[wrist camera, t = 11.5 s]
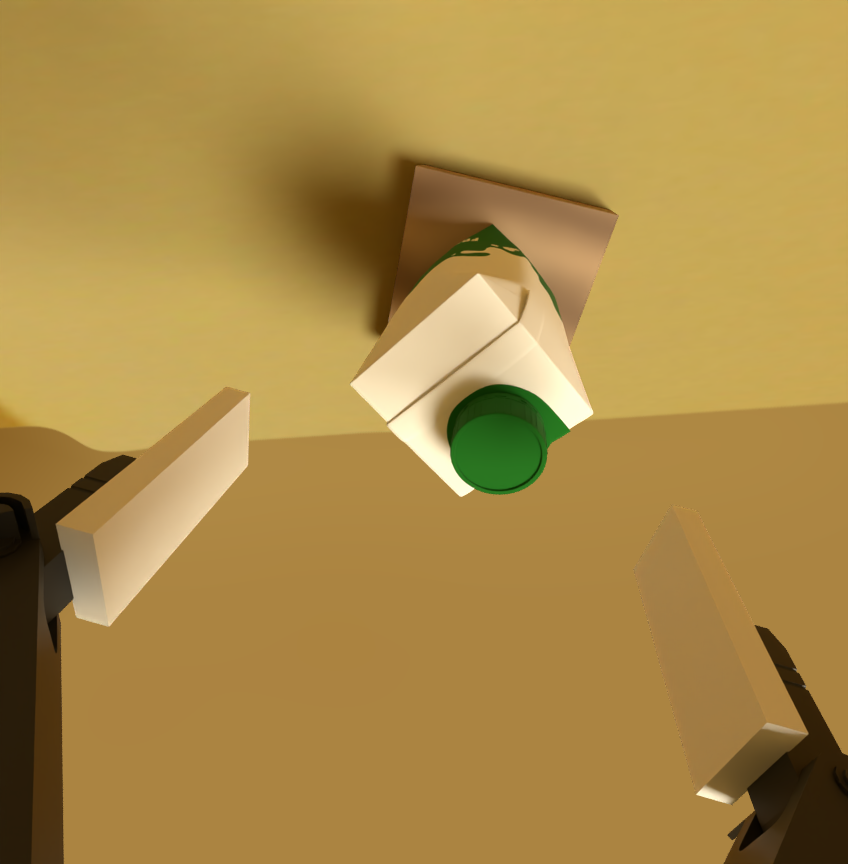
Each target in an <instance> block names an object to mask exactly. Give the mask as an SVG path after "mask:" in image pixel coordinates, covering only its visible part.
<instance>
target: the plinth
mask: <svg viewBox="0 0 848 864" xmlns="http://www.w3.org/2000/svg"><path fill="white" fill-rule="evenodd" d="M618 216H619V215H617V214H616V213H614V212H612V211H611V210H607V209H603V208H599V207H595V206H591V205H587V204H583V203H579V202H575V201H571V200H566V199H562V198H558V197H554V196H550V195H546V194H542V193H538V192H534V191H530V190H526V189H522V188H517V187H513V186H509V185H505V184H501V183H497V182H493V181H489V180H485V179H481V178H477V177H473V176H468V175H464V174H460V173H456V172H452V171H448V170H444V169H440V168H436V167H432V166H428V165H417V166H416V167H415V173H414V179H413V184H412V190H411V196H410V201H409V207H408V213H407V218H406V224H405V230H404V235H403V241H402V247H401V252H400V258H399V264H398V269H397V275H396V281H395V286H394V292H393V298H392V303H391V309H390V315H389V320H388V323H389V322H390V320H391V319H392V317H393V315H394V314H395V312H396V311H397V310H398V308H399V307H400V305H401V304H402V302H403V301H404V300H405V298H406V297H407V295H408V294H409V293H410V291H411V290H412V288H413V287H414V285H415V284H416V283H417V281H418V280H419V279H420V277H421V276H422V275H423V274H424V273H425V272H426V271H427V270H428V269H429V268H430V267H431V266H432V265H433V264H434V263H435V262H436V261H437V260H439V259H440V258H441V257H442V256H443V255H444V254H446V253H447V252H448V251H449V250H450V249H451V248H453V247H454V246H455V245H457V244H458V243H460V242H462V241H463V240H465V239H467V238H469V237H470V236H472V235H474V234H476V233H478V232H479V231H481V230H483V229H485V228H487V227H488V226H490V225H492V224H493V225H494V226H495V227H496V228H497V229H498V230H499V231H500V232H501V233H502V234H503V235H505V236H506V237H507V238H508V239H509V240H510V241H511V242H512V243H513V244H514V245H515V246H517V247H518V248H519V249H520V250H521V251H522V253H523V254H524V255H525V256H526V257H527V258H528V259H529V261H530V262H531V263H532V264H533V266H534V267H535V268H536V270H537V271H538V273H539V274H540V275H541V277H542V278H543V279H544V281H545V282H546V284H547V285H548V287H549V288H550V289H551V291H552V293H553V294H554V296H555V299H556V302H557V305H558V308H559V312H560V315H561V319H562V322H563V326H564V329H565V333H566V336H567V340H568V344H569V346H570V344H571V341H572V338H573V336H574V333H575V330H576V328H577V325H578V322H579V320H580V317H581V314H582V312H583V309H584V306H585V304H586V301H587V298H588V296H589V293H590V290H591V288H592V285H593V282H594V280H595V277H596V274H597V272H598V269H599V267H600V264H601V261H602V259H603V256H604V253H605V251H606V248H607V245H608V243H609V240H610V237H611V235H612V232H613V229H614V227H615V224H616V221H617V219H618Z"/></svg>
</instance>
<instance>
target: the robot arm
mask: <svg viewBox="0 0 848 864" xmlns="http://www.w3.org/2000/svg"><path fill="white" fill-rule="evenodd" d="M249 413H250V393H248V392H244V391H241V390H237V389H233V388H229V387H225V388H224V389H223V390H222V391H220V392H219V393H218V394H217V395H216V396H214V397H213V398H212V399H211V400H209V401H208V402H207V403H206V404H204V405H203V406H202V407H201V408H199V409H198V410H197V411H196V412H194V413H193V414H192V415H191V416H189V417H188V418H187V419H186V420H184V421H183V422H182V423H181V424H179V425H178V426H177V427H176V428H174V429H173V430H172V431H171V432H169V433H168V434H167V435H166V436H165V437H163V438H162V439H161V440H160V441H158V442H157V443H156V444H155V445H153V446H152V447H151V448H150V449H148V450H147V451H146V452H145V453H143V454H142V455H141V456H140V457H138V458H133V457H129V456H125V455H121V456H119V457H116V458H113V459H111V460H108V461H106V462H103V463H101V464H100V465H98V466H97V467H96V468H94V469H93V470H92V471H90V472H89V473H87V474H86V475H85V477H84V478H81V479H79V480H78V481H77V482H75V483H74V484H73V485H72V486H71V488H67V489H66V490H65V491H63V492H62V493H61V494H59V495H58V496H57V497H55V498H54V499H53V500H51V501H50V502H49V503H47V504H46V505H45V506H43V507H42V508H41V509H39V510H38V511H37V512H35V513H33V509H32V506H31V503H30V501H29V500H28V499H27V498H25V497H23V496H22V495H18V494H12V493H0V864H64V857H63V856H64V854H63V780H62V779H63V778H62V776H63V775H62V697H61V622H60V618H59V613H60V612H61V611H62V610H63V609H64V608H65V607H66V606H67V605H68V603H69V602H71V600H73V605H74V609H75V614H76V617H77V618H80V619H84V620H88V621H91V622H94V623H98V624H101V625H105V626H110V625H111V623H112V622H113V621H114V620H115V619H116V618H117V617H118V615H119V614H120V613H121V612H122V611H123V610H124V608H125V607H126V606H127V605H128V604H129V603H130V602H131V600H132V599H133V598H134V597H135V596H136V595H137V593H138V592H139V591H140V590H141V589H142V588H143V587H144V585H145V584H146V583H147V582H148V581H149V579H150V578H151V577H152V576H153V575H154V574H155V573H156V571H157V570H158V569H159V568H160V567H161V566H162V564H163V563H164V562H165V561H166V560H167V559H168V557H169V556H170V555H171V554H172V553H173V552H174V550H175V549H176V548H177V547H178V546H179V545H180V544H181V542H182V541H183V540H184V539H185V538H186V537H187V536H188V534H189V533H190V532H191V531H192V530H193V529H194V527H195V526H196V525H197V524H198V523H199V522H200V520H201V519H202V518H203V517H204V516H205V515H206V513H207V512H208V511H209V510H210V509H211V508H212V507H213V505H214V504H215V503H216V502H217V501H218V500H219V498H220V497H221V496H222V495H223V494H224V493H225V491H226V490H227V489H228V488H229V487H230V486H231V484H232V483H233V482H234V481H235V480H236V478H237V477H238V476H239V475H240V474H241V473H242V472H243V471H244V469H245V468H246V467H247V466H248V444H249ZM634 573H635V577H636V580H637V584H638V588H639V591H640V595H641V598H642V602H643V606H644V609H645V613H646V616H647V620H648V624H649V627H650V630H651V634H652V638H653V641H654V645H655V648H656V652H657V656H658V659H659V663H660V667H661V670H662V674H663V677H664V681H665V685H666V688H667V692H668V695H669V699H670V703H671V706H672V710H673V713H674V717H675V721H676V724H677V728H678V731H679V735H680V739H681V742H682V746H683V749H684V753H685V756H686V760H687V764H688V767H689V771H690V775H691V778H692V782H693V785H694V789H695V792H696V795H700V796H703V797H707V798H710V799H714V800H717V801H721V802H724V803H728V804H731V805H732V804H733V803H734V802H736V801H737V800H738V799H739V798H740V797H741V796H742V795H743V794H744V793H745V792H746V791H747V790H748V793H749V795H750V798H751V801H752V804H753V806H754V809H755V811H754V812H753V813H752V814H750V815H749V816H748V817H747V818H746V819H745V820H744V821H743V822H741V823H740V824H739V825H738V826H737V827H736V828H734V829H733V830H732V831H731V832H730V833H729V834H728V836H729V837H730V838H731V839H732V840H733V839H735V838H736V837H737V838H736V840H735V842H734V844H733V846H732V848H731V850H730V852H729V854H728V856H727V858H726V860H725V862H724V864H848V755H845V754H843V753H842V752H841V750H840V748H839V746H838V744H837V743H836V741H835V739H834V737H833V735H832V733H831V732H830V730H829V728H828V726H827V724H826V722H825V720H824V719H823V717H822V715H821V713H820V711H819V709H818V707H817V706H816V704H815V702H814V700H813V698H812V697H811V694H810V693H809V691H808V690H806V689H805V687H806V685H805V683H804V681H803V680H802V678H801V676H800V674H799V673H797V672H796V670H797V669H796V667H795V665H794V663H793V661H792V659H791V658H790V656H789V654H788V652H787V650H786V648H785V647H784V646H783V645H782V644H781V643H780V642H779V641H778V640H777V639H776V637H775V636H774V635H773V634H772V633H771V632H770V631H769V629H767V628H763V627H760V626H756V625H754V624H753V622H752V620H751V618H750V616H749V614H748V612H747V610H746V608H745V606H744V604H743V602H742V600H741V598H740V596H739V594H738V592H737V590H736V588H735V586H734V584H733V582H732V580H731V578H730V576H729V574H728V572H727V570H726V568H725V566H724V564H723V562H722V560H721V558H720V556H719V554H718V552H717V550H716V548H715V546H714V544H713V542H712V540H711V538H710V536H709V534H708V532H707V530H706V528H705V526H704V524H703V522H702V520H701V518H700V516H699V514H698V512H697V511H695V510H691V509H688V508H684V507H680V506H676V505H671V507H670V508H669V510H668V511H667V513H666V515H665V517H664V518H663V520H662V522H661V524H660V525H659V527H658V529H657V530H656V532H655V534H654V536H653V537H652V539H651V541H650V542H649V544H648V546H647V547H646V549H645V551H644V553H643V554H642V556H641V558H640V559H639V561H638V563H637V565H636V566H635V568H634Z"/></svg>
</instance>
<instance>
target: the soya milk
mask: <svg viewBox="0 0 848 864" xmlns="http://www.w3.org/2000/svg"><path fill="white" fill-rule="evenodd" d="M350 385H351V386H352V387H353V388H354V389H355V390H356V391H357V392H358V393H359V394H360V395H361V396H362V397H363V398H364V399H365V400H366V401H367V402H368V403H369V404H370V405H371V406H372V407H373V408H374V409H375V410H376V411H377V412H378V413H379V414H380V415H381V416H382V417H383V418H384V419H385V420H386V421H387V426H388V428H389V429H390V430H391V431H392V432H393V433H394V434H395V435H396V436H397V437H398V438H399V439H400V440H402V441H403V442H405V443H406V444H407V445H408V446H409V447H410V448H411V449H412V450H413V451H414V452H415V453H416V454H417V455H418V456H419V457H420V458H421V459H422V460H423V461H424V462H425V463H426V464H427V465H428V466H429V467H430V468H431V469H432V470H433V471H434V472H435V473H436V474H437V475H438V476H439V477H440V478H442V480H443V481H444V482H445V483H447V484H448V485H449V486H450V487H451V488H452V489H453V490H454V491H455V492H456V493H457V494H458V495H459V496H460V497H461V496H464V495H466V494H467V493H469V492H470V491H472V490H473V489H476V490H479V491H481V492H485V493H489V494H499V495H500V494H510V493H515V492H517V491H520V490H522V489H525V488H526V487H528V486H529V485H531V484H532V483H534V482H535V481H536V479H538V477H539V476H540V475H541V473H542V472H543V470H544V467H545V464H546V460H547V448H548V447H549V446H550V444H551V443H552V442H554V441H555V440H557V439H559V438H560V437H562V436H564V435H565V434H567V433H568V432H570V430H569V429H570V428H571V427H573V426H575V425H576V424H578V423H580V422H581V421H583V420H585V419H586V418H588V417H589V416H591V415H592V414H593V410H592V408H591V406H590V403H589V400H588V398H587V395H586V392H585V389H584V387H583V384H582V381H581V378H580V376H579V373H578V370H577V367H576V365H575V362H574V359H573V356H572V353H571V350H570V347H569V344H568V340H567V336H566V333H565V329H564V326H563V322H562V319H561V315H560V312H559V308H558V305H557V302H556V299H555V296H554V294H553V293H552V291H551V289H550V288H549V287H548V285H547V284H546V282H545V281H544V279H543V278H542V277H541V275H540V274H539V273H538V271H537V270H536V268H535V267H534V266H533V264H532V263H531V262H530V261H529V259H528V258H527V257H526V256H525V255H524V254H523V253H522V251H521V250H520V249H519V248H518V247H517V246H515V245H514V244H513V243H512V242H511V241H510V240H509V239H508V238H507V237H506V236H505V235H503V234H502V233H501V232H500V231H499V230H498V229H497V228H496V227H495V226H494V225H493V224H492V225H490V226H488V227H487V228H485V229H483V230H481V231H479V232H478V233H476V234H474V235H472V236H470V237H469V238H467V239H465V240H463V241H462V242H460V243H458V244H457V245H455V246H454V247H453V248H451V249H450V250H449V251H448V252H447V253H446V254H444V255H443V256H442V257H441V258H440V259H439V260H437V261H436V262H435V263H434V264H433V265H432V266H431V267H430V268H429V269H428V270H427V271H426V272H425V273H424V274H423V275H422V276H421V277H420V279H419V280H418V281H417V283H416V284H415V285H414V287H413V288H412V290H411V291H410V293H409V294H408V295H407V297H406V298H405V300H404V301H403V302H402V304H401V305H400V307H399V308H398V310H397V311H396V312H395V314H394V315H393V317H392V319H391V320H390V322H389V323H388V325H387V327H386V328H385V330H384V331H383V333H382V335H381V336H380V338H379V340H378V341H377V343H376V344H375V346H374V348H373V349H372V351H371V352H370V354H369V355H368V357H367V358H366V360H365V362H364V363H363V365H362V366H361V368H360V369H359V371H358V372H357V374H356V375H355V377H354V379H353V380H352V381H351V383H350Z"/></svg>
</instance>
